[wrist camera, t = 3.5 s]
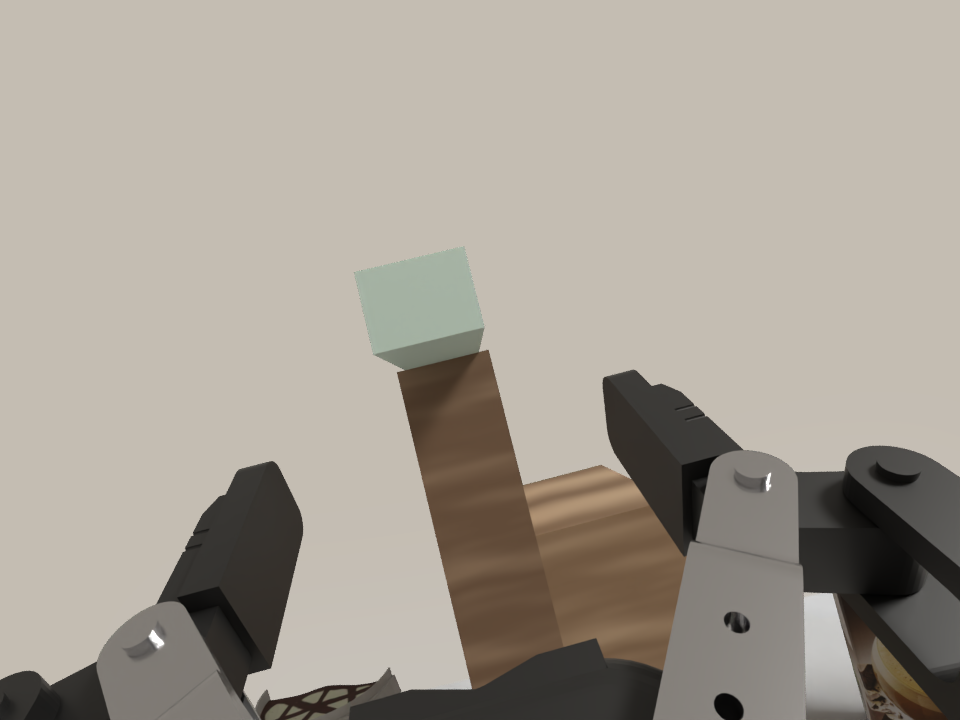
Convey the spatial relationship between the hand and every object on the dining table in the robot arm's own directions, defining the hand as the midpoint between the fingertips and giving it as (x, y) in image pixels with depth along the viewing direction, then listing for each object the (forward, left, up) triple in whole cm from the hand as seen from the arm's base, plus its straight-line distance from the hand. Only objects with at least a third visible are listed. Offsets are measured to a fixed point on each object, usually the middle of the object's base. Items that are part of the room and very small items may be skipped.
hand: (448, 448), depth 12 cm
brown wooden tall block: (-15, -15, -29) cm, 36 cm away
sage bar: (-10, -14, +3) cm, 17 cm away
